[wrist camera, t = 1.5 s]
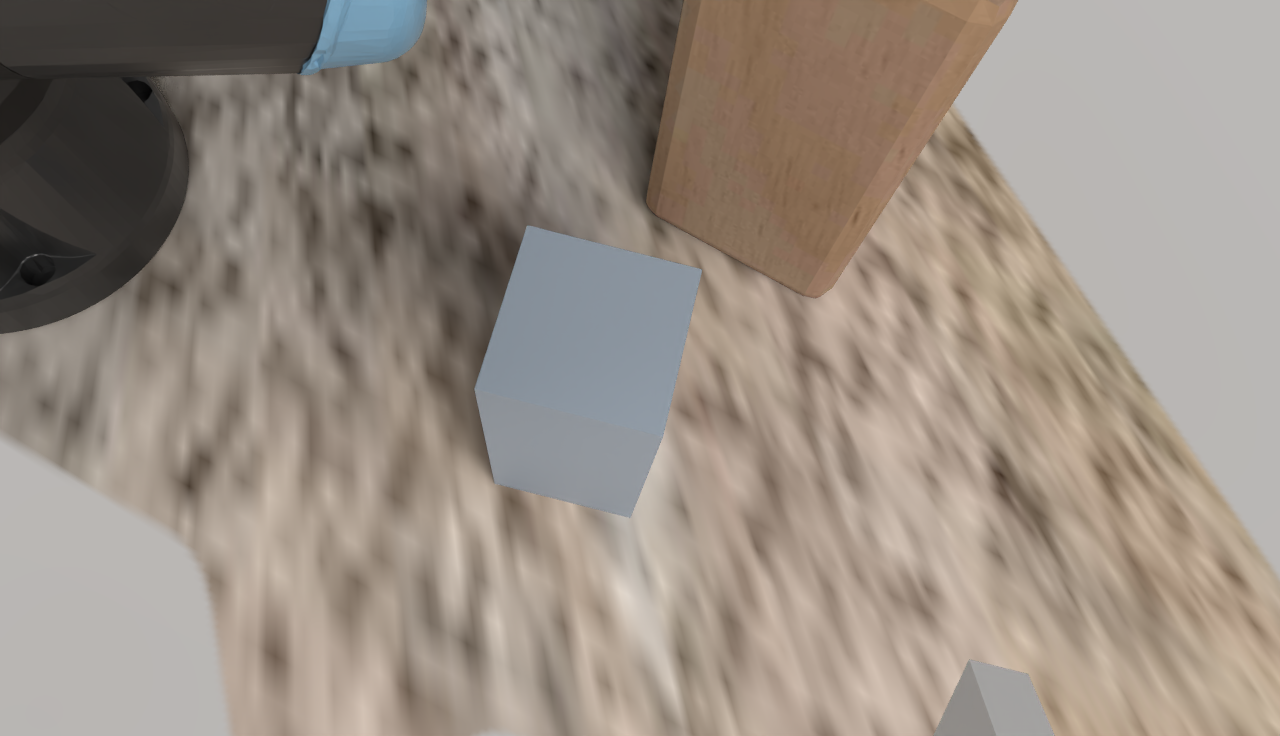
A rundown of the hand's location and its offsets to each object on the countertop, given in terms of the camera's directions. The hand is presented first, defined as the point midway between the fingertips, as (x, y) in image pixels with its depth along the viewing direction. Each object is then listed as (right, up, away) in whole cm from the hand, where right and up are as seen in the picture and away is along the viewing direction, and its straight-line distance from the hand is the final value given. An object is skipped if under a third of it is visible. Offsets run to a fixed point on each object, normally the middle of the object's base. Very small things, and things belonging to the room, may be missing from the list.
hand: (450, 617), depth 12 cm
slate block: (0, 0, +29) cm, 29 cm away
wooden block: (+9, +12, +35) cm, 38 cm away
